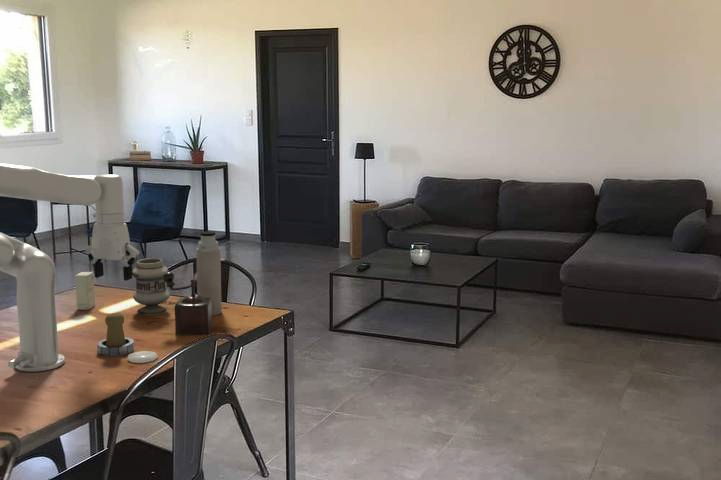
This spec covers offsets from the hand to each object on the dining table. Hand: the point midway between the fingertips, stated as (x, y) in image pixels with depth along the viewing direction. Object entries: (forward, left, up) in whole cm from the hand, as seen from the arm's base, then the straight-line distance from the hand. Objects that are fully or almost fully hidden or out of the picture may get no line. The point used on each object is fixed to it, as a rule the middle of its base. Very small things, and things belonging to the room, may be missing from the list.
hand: (113, 278), depth 215 cm
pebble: (-3, -11, -22) cm, 24 cm away
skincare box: (+35, +38, -22) cm, 56 cm away
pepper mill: (+25, -8, -22) cm, 34 cm away
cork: (0, 0, -22) cm, 22 cm away
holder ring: (0, 0, -22) cm, 22 cm away
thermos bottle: (+45, -5, -22) cm, 50 cm away
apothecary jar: (+39, +14, -22) cm, 47 cm away
